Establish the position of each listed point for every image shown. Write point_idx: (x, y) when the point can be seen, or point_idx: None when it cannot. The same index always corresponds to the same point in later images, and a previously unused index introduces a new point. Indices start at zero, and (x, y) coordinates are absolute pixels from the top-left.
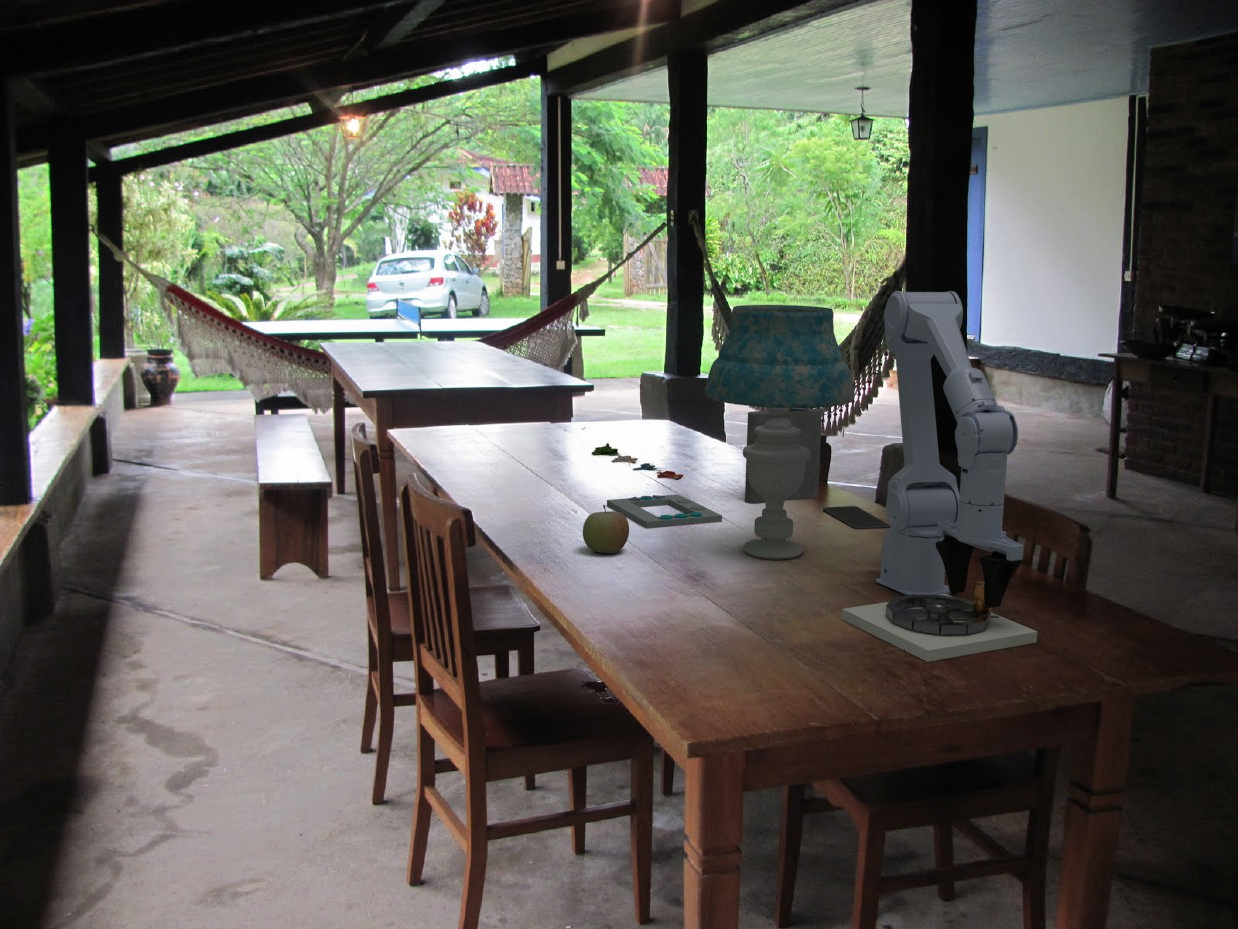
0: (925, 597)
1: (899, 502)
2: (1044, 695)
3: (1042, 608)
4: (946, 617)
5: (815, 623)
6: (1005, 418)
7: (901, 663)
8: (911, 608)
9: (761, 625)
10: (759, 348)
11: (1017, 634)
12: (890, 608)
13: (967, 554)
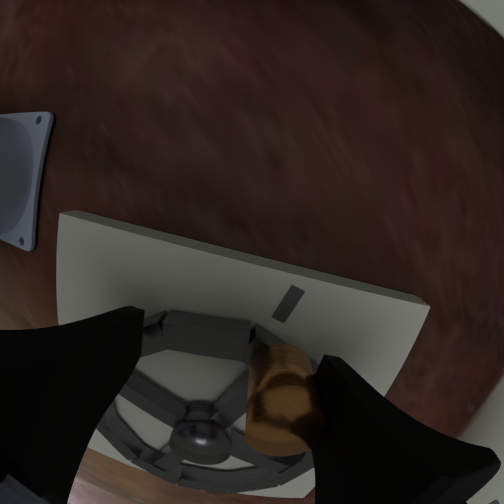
0: None
1: None
2: (455, 438)
3: (270, 17)
4: (254, 458)
5: (95, 455)
6: None
7: (278, 497)
8: None
9: (88, 476)
10: None
11: (401, 364)
12: (148, 470)
13: (49, 393)
